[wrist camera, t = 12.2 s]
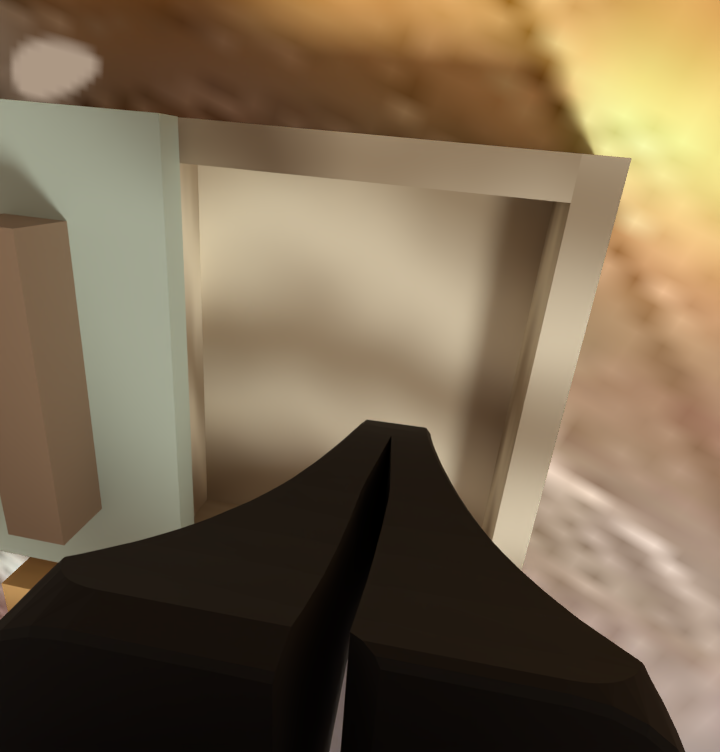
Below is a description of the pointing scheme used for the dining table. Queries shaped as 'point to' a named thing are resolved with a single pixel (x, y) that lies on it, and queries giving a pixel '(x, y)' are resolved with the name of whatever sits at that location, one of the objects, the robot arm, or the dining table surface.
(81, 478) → the lid
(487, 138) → the dining table surface
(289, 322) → the toolbox
